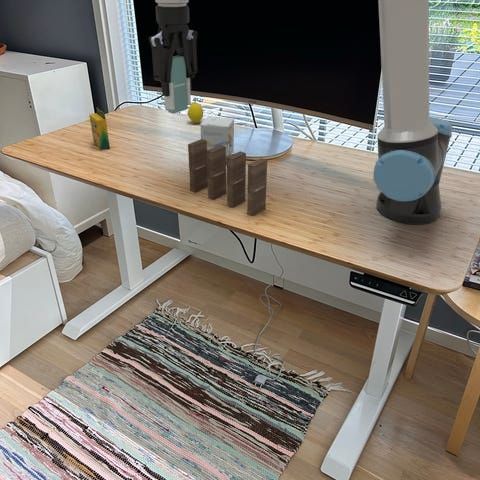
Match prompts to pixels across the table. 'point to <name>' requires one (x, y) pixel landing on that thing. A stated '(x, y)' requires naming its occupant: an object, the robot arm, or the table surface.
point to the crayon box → (99, 130)
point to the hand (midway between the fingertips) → (178, 105)
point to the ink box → (218, 133)
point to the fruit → (195, 112)
